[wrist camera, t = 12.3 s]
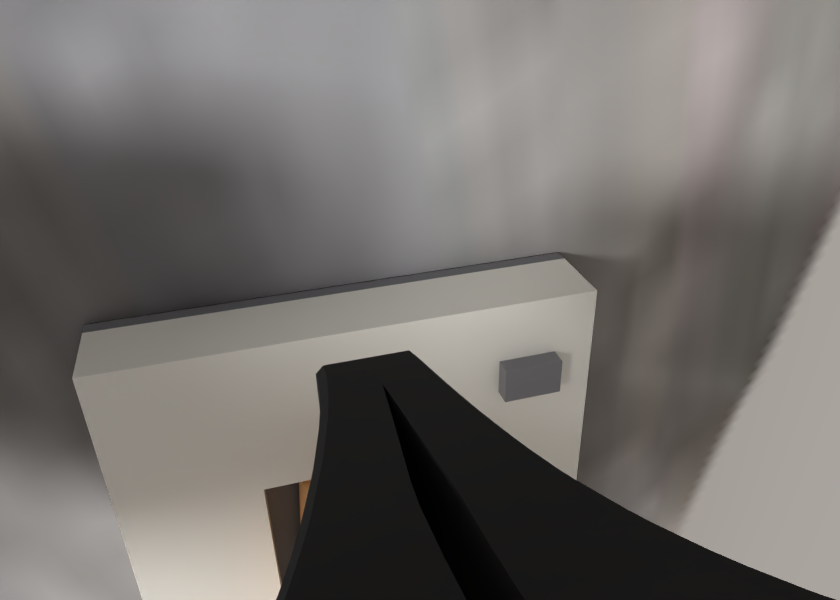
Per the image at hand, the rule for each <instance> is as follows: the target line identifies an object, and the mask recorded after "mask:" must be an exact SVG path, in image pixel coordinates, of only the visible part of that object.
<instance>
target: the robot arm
mask: <svg viewBox="0 0 840 600" xmlns="http://www.w3.org/2000/svg"><path fill="white" fill-rule="evenodd" d="M316 381H317V390H318V399H319V407H320V418H319V431H318V438H317V446H316V453H315V460H314V467H313V472H312V477H311V481H310V486H309V490H308V494H307V499H306V503H305V507H304V512H303V516H302V520H301V524H300V528H299V531H298V535H297V538H296V542H295V545H294V548H293V552H292V555H291V558H290V561H289V564H288V567H287V570H286V573H285V576H284V579H283V582H282V585H281V588H280V591H279V593H278V596H277V599H276V600H835V599H832V598H829V597H826V596H823V595H820V594H817V593H815V592H812V591H809V590H806V589H804V588H801V587H799V586H796V585H794V584H791V583H788V582H786V581H783V580H781V579H778V578H776V577H773V576H771V575H768V574H766V573H763V572H760V571H758V570H755V569H753V568H750V567H747V566H745V565H743V564H741V563H738V562H736V561H733V560H731V559H729V558H727V557H724V556H722V555H720V554H717V553H715V552H713V551H710V550H708V549H706V548H704V547H702V546H700V545H698V544H696V543H693V542H691V541H689V540H687V539H685V538H683V537H681V536H679V535H677V534H675V533H673V532H670V531H668V530H666V529H664V528H662V527H660V526H658V525H656V524H654V523H652V522H650V521H648V520H646V519H644V518H642V517H640V516H638V515H636V514H635V513H633V512H631V511H629V510H627V509H625V508H623V507H622V506H620V505H618V504H616V503H615V502H613V501H611V500H609V499H608V498H606V497H604V496H603V495H601V494H599V493H597V492H596V491H594V490H592V489H590V488H589V487H587V486H585V485H583V484H582V483H580V482H578V481H577V480H575V479H574V478H572V477H570V476H569V475H567V474H566V473H564V472H562V471H561V470H559V469H558V468H556V467H555V466H553V465H552V464H551V463H549V462H548V461H546V460H545V459H543V458H542V457H540V456H539V455H537V454H536V453H535V452H533V451H532V450H530V449H529V448H528V447H526V446H525V445H523V444H522V443H521V442H519V441H518V440H517V439H515V438H514V437H513V436H511V435H510V434H509V433H507V432H506V431H505V430H504V429H502V428H501V427H500V426H498V425H497V424H496V423H495V422H493V421H492V420H491V419H490V418H488V417H487V416H486V415H484V414H483V413H482V412H481V411H479V410H478V409H477V408H476V407H475V406H473V405H472V404H471V403H470V402H468V401H467V400H466V399H465V398H464V397H463V396H461V395H460V394H459V393H458V392H457V391H456V390H454V389H453V388H452V387H451V386H450V385H449V384H447V383H446V382H445V381H444V380H443V379H442V378H441V377H439V376H438V375H437V374H436V373H435V372H434V371H433V370H432V369H430V368H429V367H428V366H427V365H426V364H425V363H424V362H423V361H422V360H420V359H419V358H418V357H417V356H416V355H414V354H413V353H412V352H411V351H409V350H408V351H402V352H397V353H391V354H385V355H380V356H374V357H368V358H362V359H357V360H351V361H345V362H340V363H334V364H328V365H323V366H322V367H321V368H320V370H319V371H318V372H317V373H316Z"/></svg>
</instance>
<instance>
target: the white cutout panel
mask: <svg viewBox="0 0 840 600" xmlns="http://www.w3.org/2000/svg"><path fill="white" fill-rule="evenodd" d="M596 298H597V290H596V289H595V288H594V287H593V286H592V285H591V284H590V283H589V282H588V281H587V280H586V279H585V278H584V277H583V276H582V275H581V274H580V273H579V272H578V271H577V270H576V269H575V268H574V267H573V266H572V265H571V264H570V263H569V262H568V261H567V260H566V259H565V258H564V257H563V256H561V255H560V254H559V253H552V254H545V255H539V256H532V257H525V258H519V259H512V260H506V261H499V262H493V263H486V264H480V265H473V266H467V267H460V268H453V269H447V270H440V271H434V272H427V273H421V274H414V275H408V276H401V277H394V278H388V279H381V280H375V281H368V282H362V283H355V284H349V285H342V286H336V287H329V288H322V289H316V290H309V291H303V292H296V293H290V294H283V295H277V296H270V297H263V298H257V299H250V300H244V301H237V302H231V303H224V304H218V305H211V306H205V307H198V308H191V309H185V310H178V311H172V312H165V313H159V314H152V315H146V316H139V317H132V318H126V319H119V320H113V321H106V322H100V323H93V324H87V325H84V327H83V331H82V336H81V341H80V345H79V350H78V354H77V359H76V363H75V368H74V372H73V377H72V380H73V383H74V386H75V389H76V392H77V395H78V399H79V402H80V405H81V408H82V411H83V414H84V417H85V421H86V424H87V427H88V430H89V433H90V436H91V439H92V443H93V446H94V449H95V452H96V455H97V458H98V461H99V465H100V468H101V471H102V474H103V477H104V480H105V483H106V487H107V490H108V493H109V496H110V499H111V502H112V505H113V509H114V512H115V515H116V518H117V521H118V524H119V527H120V531H121V534H122V537H123V540H124V543H125V546H126V549H127V553H128V556H129V559H130V562H131V565H132V568H133V571H134V575H135V578H136V581H137V584H138V587H139V590H140V594H141V597H142V600H276V599H277V596H278V593H279V591H280V588H281V585H282V582H283V579H284V576H285V573H286V570H287V567H288V564H289V561H290V558H291V555H292V552H293V548H294V545H295V542H296V538H297V535H298V531H299V528H300V503H299V482H303V481H308V480H311V477H312V472H313V467H314V460H315V453H316V446H317V438H318V431H319V418H320V407H319V399H318V390H317V381H316V373H317V372H318V371H319V370H320V368H321V367H322V366H323V365H328V364H334V363H340V362H345V361H351V360H357V359H362V358H368V357H374V356H380V355H385V354H391V353H397V352H402V351H408V350H409V351H411V352H412V353H413V354H414V355H416V356H417V357H418V358H419V359H420V360H422V361H423V362H424V363H425V364H426V365H427V366H428V367H429V368H430V369H432V370H433V371H434V372H435V373H436V374H437V375H438V376H439V377H441V378H442V379H443V380H444V381H445V382H446V383H447V384H449V385H450V386H451V387H452V388H453V389H454V390H456V391H457V392H458V393H459V394H460V395H461V396H463V397H464V398H465V399H466V400H467V401H468V402H470V403H471V404H472V405H473V406H475V407H476V408H477V409H478V410H479V411H481V412H482V413H483V414H484V415H486V416H487V417H488V418H490V419H491V420H492V421H493V422H495V423H496V424H497V425H498V426H500V427H501V428H502V429H504V430H505V431H506V432H507V433H509V434H510V435H511V436H513V437H514V438H515V439H517V440H518V441H519V442H521V443H522V444H523V445H525V446H526V447H528V448H529V449H530V450H532V451H533V452H535V453H536V454H537V455H539V456H540V457H542V458H543V459H545V460H546V461H548V462H549V463H551V464H552V465H553V466H555V467H556V468H558V469H559V470H561V471H562V472H564V473H566V474H567V475H569V476H570V477H572V478H574V479H575V480H576V479H577V470H578V461H579V452H580V443H581V434H582V425H583V416H584V407H585V398H586V389H587V379H588V370H589V361H590V352H591V343H592V334H593V325H594V316H595V307H596Z"/></svg>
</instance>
